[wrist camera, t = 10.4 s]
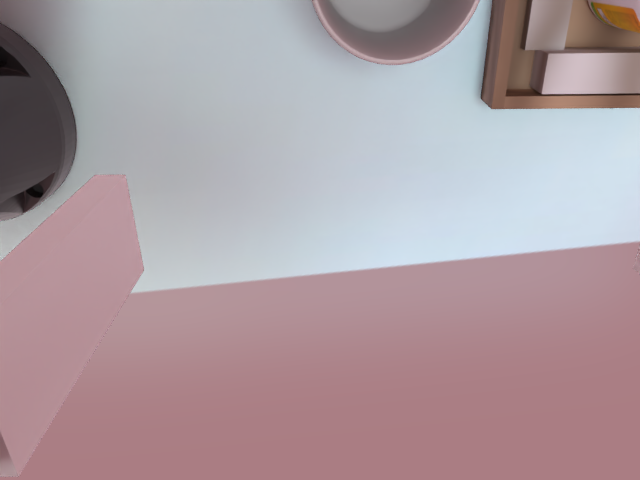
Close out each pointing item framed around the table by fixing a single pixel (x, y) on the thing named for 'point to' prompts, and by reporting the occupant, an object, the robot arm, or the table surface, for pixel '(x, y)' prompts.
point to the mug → (394, 26)
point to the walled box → (558, 58)
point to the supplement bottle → (618, 13)
